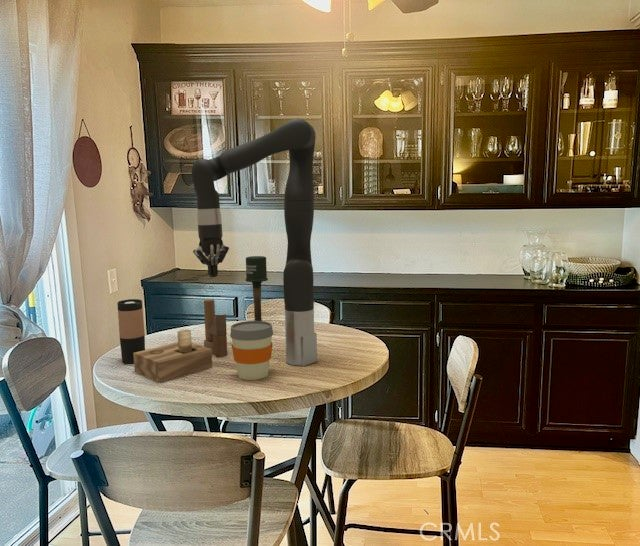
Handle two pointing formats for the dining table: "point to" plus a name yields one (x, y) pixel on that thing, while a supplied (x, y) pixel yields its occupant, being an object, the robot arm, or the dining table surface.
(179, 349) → the peg
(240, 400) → the dining table surface
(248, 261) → the potato masher grenade
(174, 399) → the dining table surface
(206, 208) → the robot arm
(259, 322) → the reusable coffee cup
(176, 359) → the seat block
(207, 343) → the wooden block
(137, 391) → the dining table surface
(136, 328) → the travel mug
